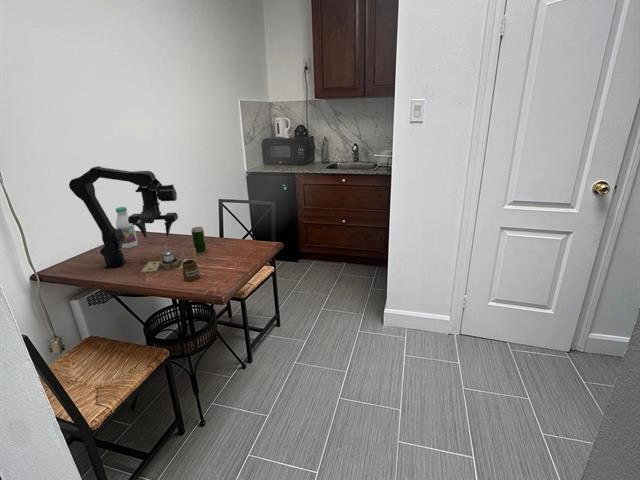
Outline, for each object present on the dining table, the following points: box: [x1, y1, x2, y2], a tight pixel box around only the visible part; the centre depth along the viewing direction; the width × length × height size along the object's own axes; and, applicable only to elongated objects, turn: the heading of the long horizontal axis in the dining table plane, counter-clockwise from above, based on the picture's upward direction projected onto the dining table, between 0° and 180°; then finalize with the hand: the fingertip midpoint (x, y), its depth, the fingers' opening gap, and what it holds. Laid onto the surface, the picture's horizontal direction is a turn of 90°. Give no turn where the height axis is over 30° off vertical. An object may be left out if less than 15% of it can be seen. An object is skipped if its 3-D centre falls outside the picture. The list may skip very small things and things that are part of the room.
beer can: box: [191, 226, 208, 255], centre depth 160 cm, size 5×5×12 cm
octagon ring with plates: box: [140, 256, 199, 274], centre depth 148 cm, size 21×10×2 cm, turn 97°
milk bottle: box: [115, 206, 139, 249], centre depth 170 cm, size 8×8×20 cm
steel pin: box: [161, 249, 175, 264], centre depth 147 cm, size 5×5×6 cm
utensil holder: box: [179, 247, 200, 282], centre depth 134 cm, size 6×6×12 cm
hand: (156, 236), depth 149 cm, fingers open, 9 cm apart
